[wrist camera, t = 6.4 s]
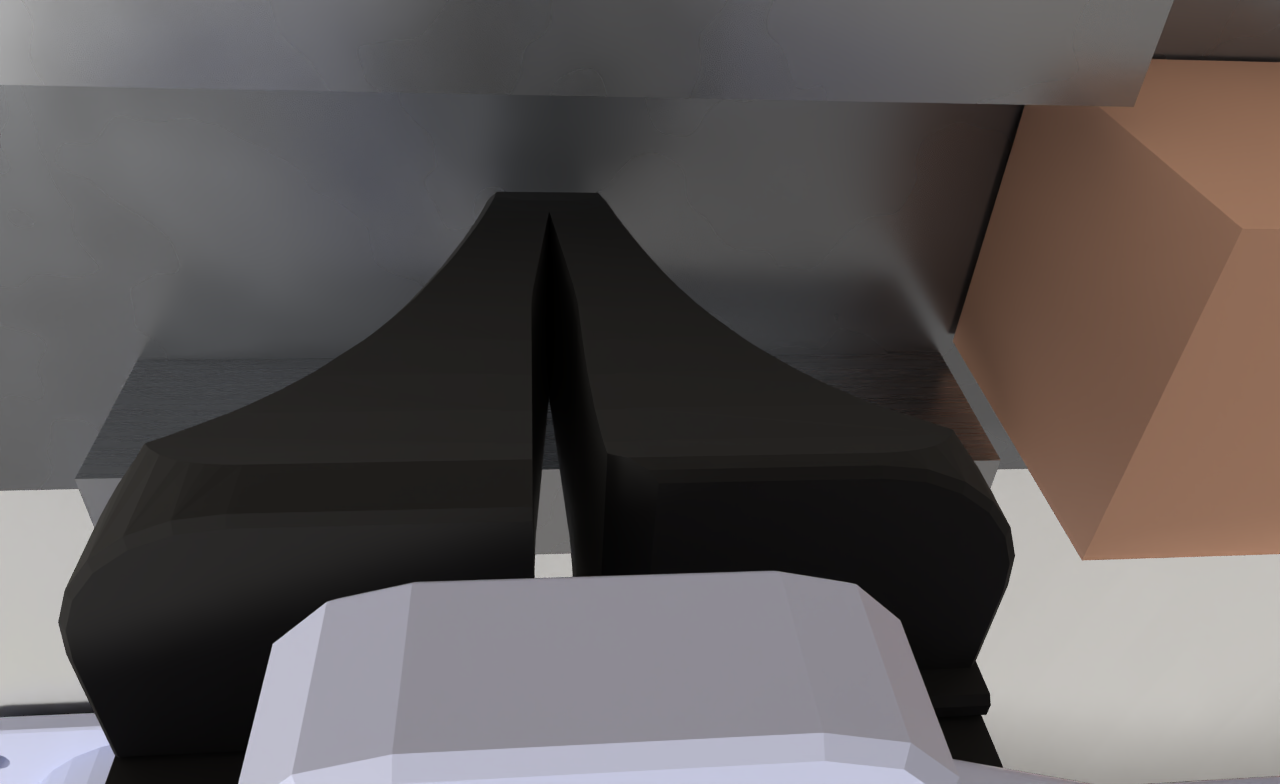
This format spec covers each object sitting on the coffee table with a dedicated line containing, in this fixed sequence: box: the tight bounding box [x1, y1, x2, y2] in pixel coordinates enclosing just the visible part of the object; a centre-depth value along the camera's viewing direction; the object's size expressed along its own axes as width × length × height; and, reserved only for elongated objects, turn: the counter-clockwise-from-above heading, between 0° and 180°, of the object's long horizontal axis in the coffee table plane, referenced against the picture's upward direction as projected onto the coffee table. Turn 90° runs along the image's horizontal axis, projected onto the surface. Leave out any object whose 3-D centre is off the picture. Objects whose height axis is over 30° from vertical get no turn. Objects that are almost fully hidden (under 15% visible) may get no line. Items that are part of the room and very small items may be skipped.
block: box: [953, 59, 1280, 560], centre depth 12 cm, size 4×5×4 cm
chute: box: [0, 0, 1280, 554], centre depth 13 cm, size 10×22×4 cm, turn 87°
